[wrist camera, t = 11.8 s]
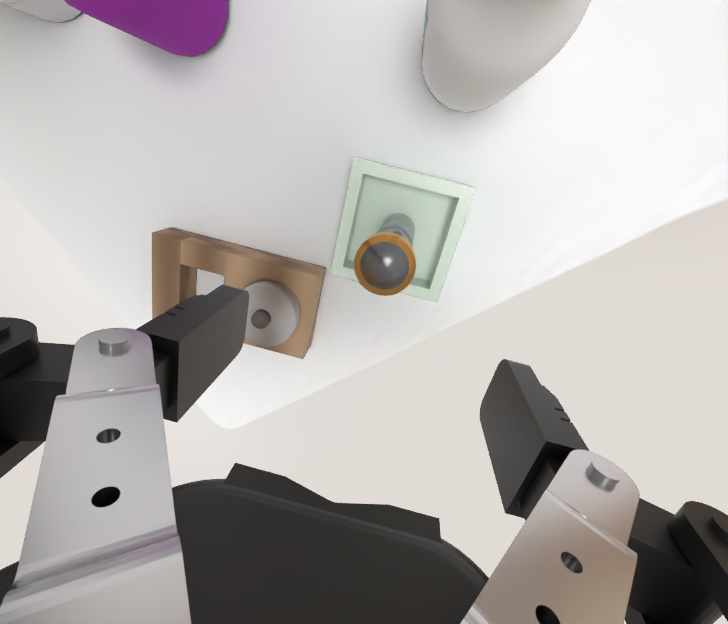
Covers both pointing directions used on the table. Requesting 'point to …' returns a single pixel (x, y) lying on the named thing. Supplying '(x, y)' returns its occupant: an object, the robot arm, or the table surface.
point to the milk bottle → (491, 46)
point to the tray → (410, 197)
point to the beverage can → (163, 21)
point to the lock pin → (387, 257)
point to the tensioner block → (242, 286)
